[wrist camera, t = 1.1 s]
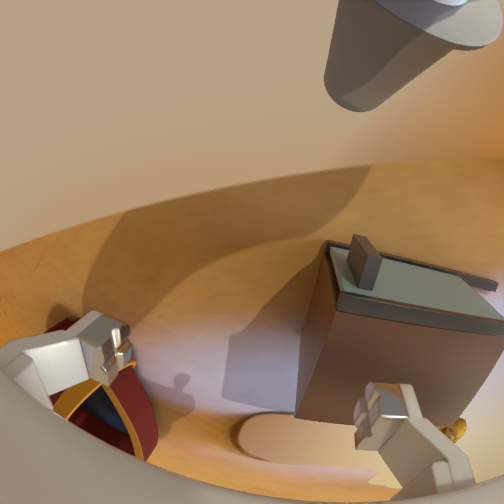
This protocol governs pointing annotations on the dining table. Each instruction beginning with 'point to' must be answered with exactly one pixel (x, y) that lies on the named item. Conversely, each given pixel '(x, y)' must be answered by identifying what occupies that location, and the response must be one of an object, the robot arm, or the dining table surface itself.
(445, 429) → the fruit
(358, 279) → the grey sliding lid
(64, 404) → the decorative basket
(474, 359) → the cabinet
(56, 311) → the dining table surface
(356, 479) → the dining table surface
